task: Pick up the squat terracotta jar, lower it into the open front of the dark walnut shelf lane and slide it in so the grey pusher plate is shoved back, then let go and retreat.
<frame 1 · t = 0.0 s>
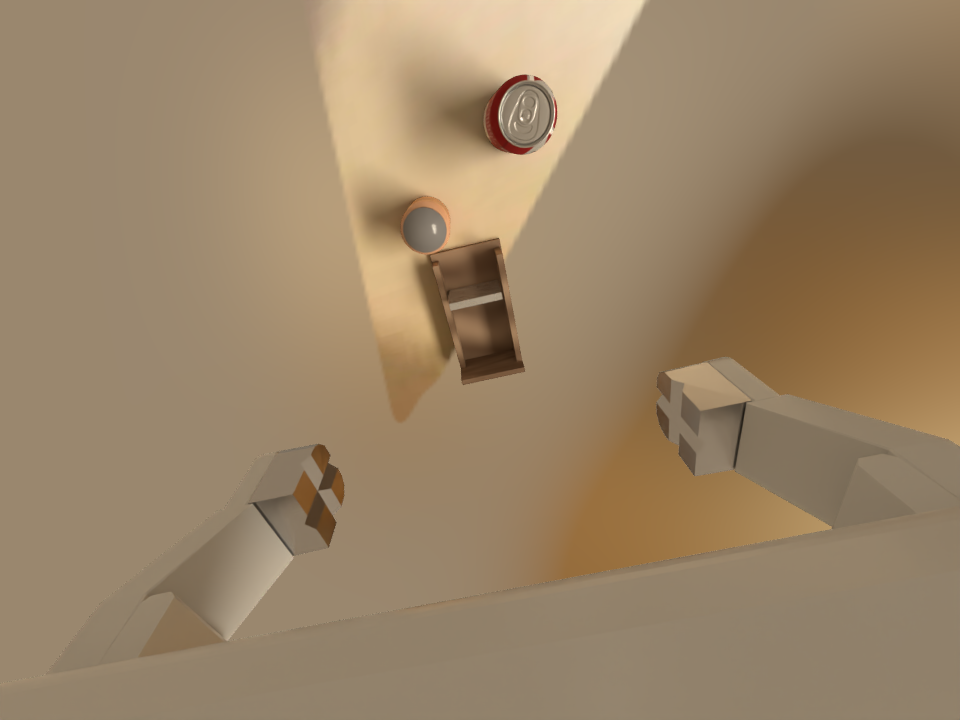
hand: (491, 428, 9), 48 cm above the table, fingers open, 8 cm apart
pusher: (476, 299, 55), point 4 cm above the table, slide at 0.0 cm
jar: (428, 220, 52), on the table
soda can: (510, 121, 47), on the table
lane: (478, 307, 59), on the table
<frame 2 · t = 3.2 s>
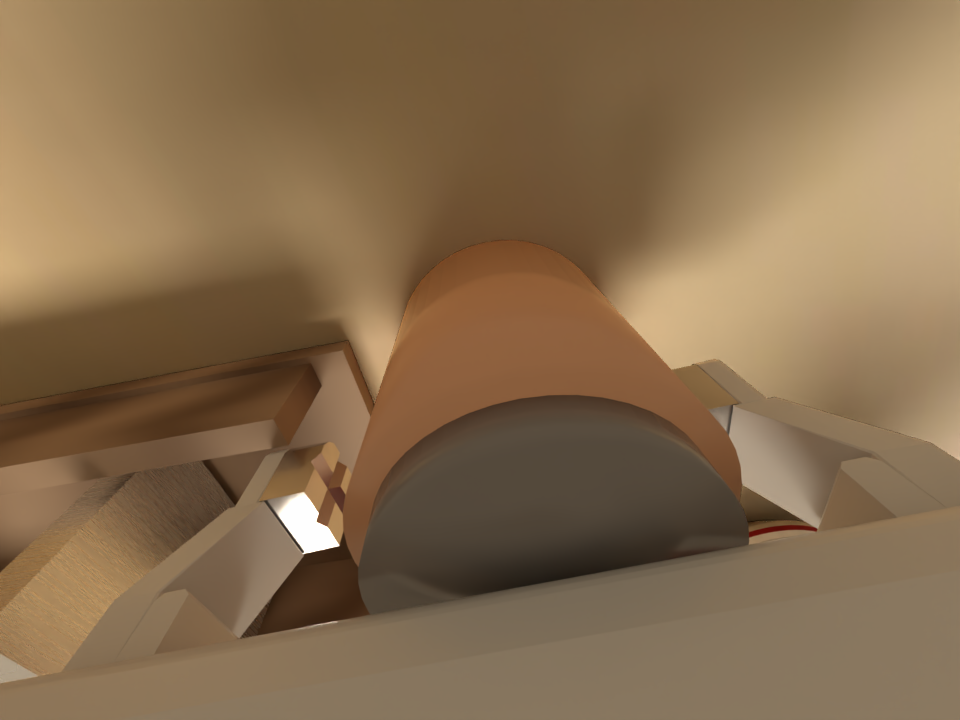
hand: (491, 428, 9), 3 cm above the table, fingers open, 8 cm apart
pusher: (145, 597, 11), point 4 cm above the table, slide at 0.0 cm
jar: (502, 342, 11), on the table
soda can: (740, 551, 18), on the table
lane: (147, 505, 14), on the table
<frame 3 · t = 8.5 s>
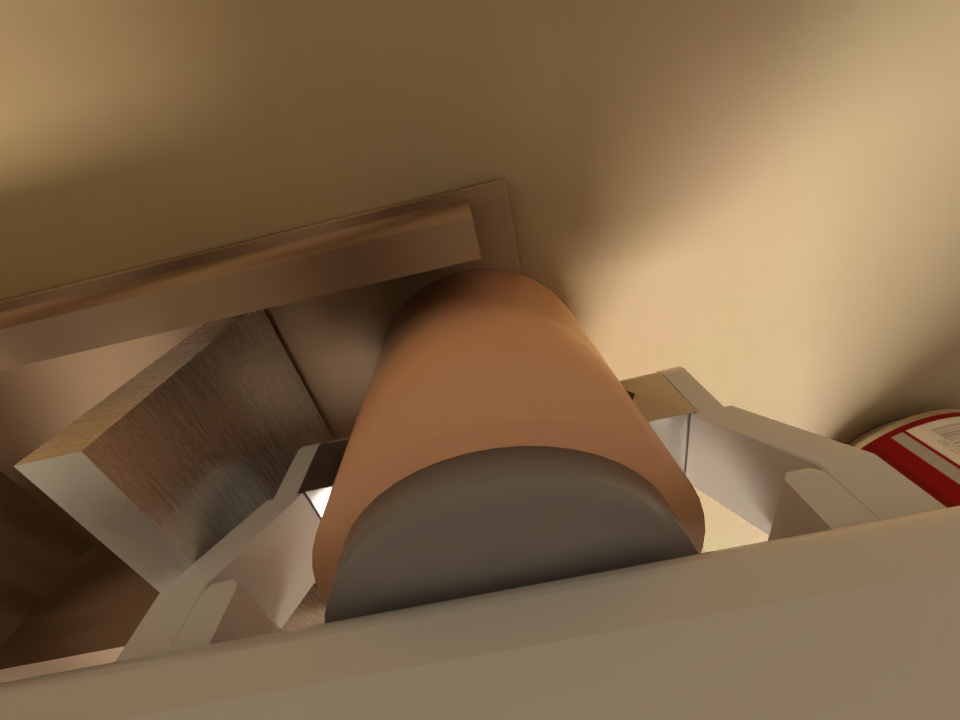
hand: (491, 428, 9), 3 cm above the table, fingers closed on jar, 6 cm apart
pusher: (233, 489, 9), point 4 cm above the table, slide at 1.3 cm, touching gripper
jar: (483, 367, 12), point 1 cm above the table, touching gripper
soda can: (878, 460, 16), on the table
lane: (248, 410, 13), on the table
when the fingers open (3 cm above the table, at t = 10.6 s): jar stays where it is, resting on lane.
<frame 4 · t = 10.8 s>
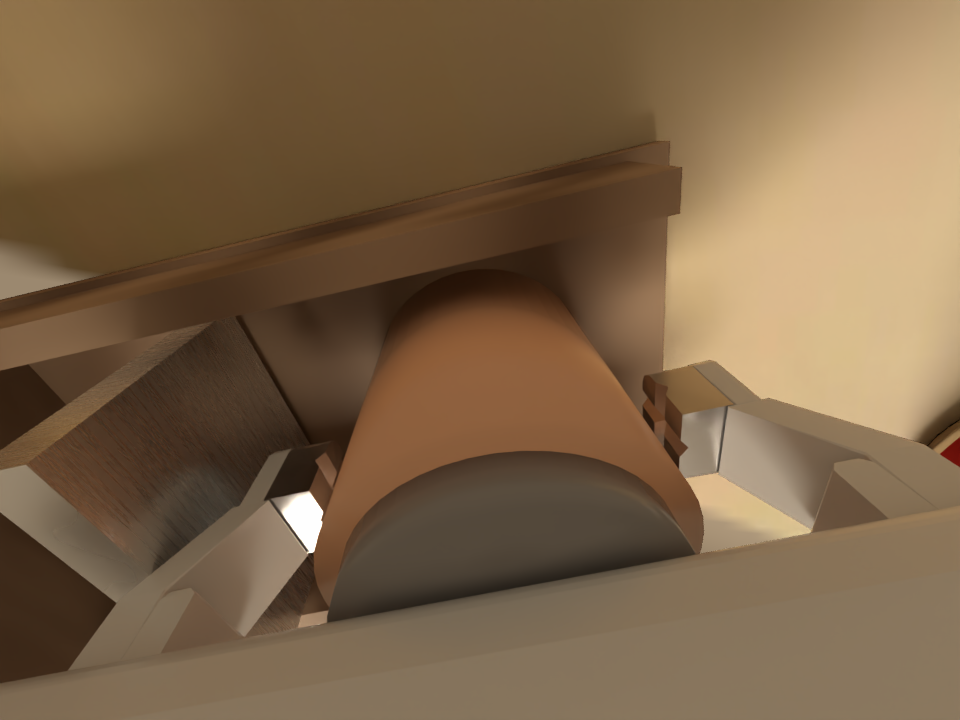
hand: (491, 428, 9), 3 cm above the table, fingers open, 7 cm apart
pusher: (202, 497, 9), point 4 cm above the table, slide at 5.9 cm, touching gripper
jar: (483, 366, 12), point 1 cm above the table, touching lane
lane: (360, 386, 12), on the table
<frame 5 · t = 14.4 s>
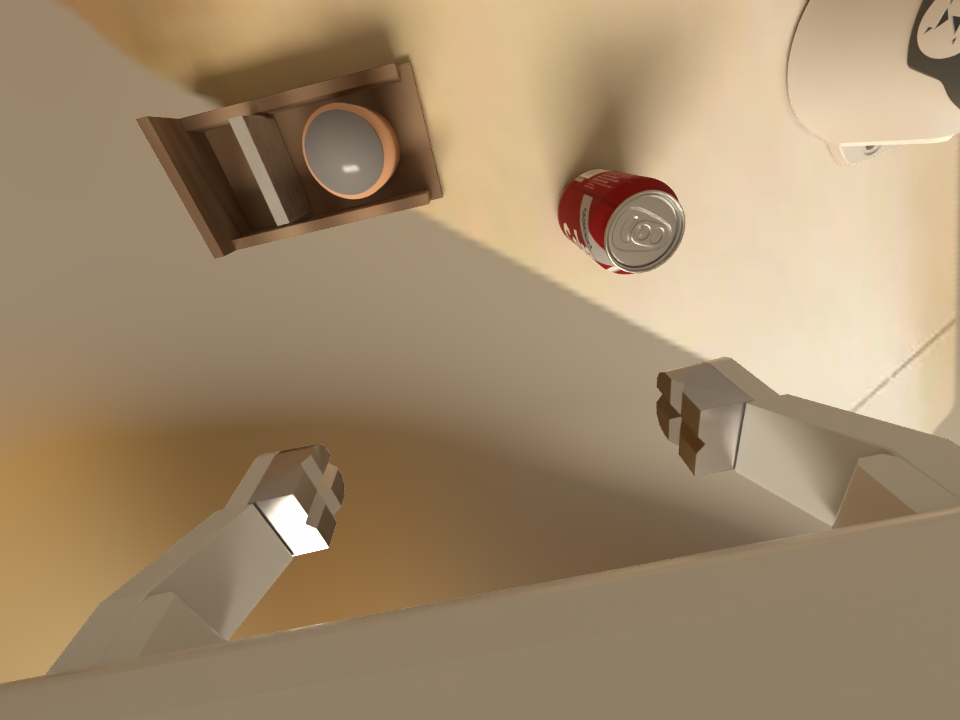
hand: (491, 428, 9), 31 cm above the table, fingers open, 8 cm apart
pusher: (266, 174, 30), point 4 cm above the table, slide at 6.2 cm
jar: (364, 148, 33), point 1 cm above the table, touching lane
soda can: (590, 207, 37), on the table
lane: (322, 161, 33), on the table
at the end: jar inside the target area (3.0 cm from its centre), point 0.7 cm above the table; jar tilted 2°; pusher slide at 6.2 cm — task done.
